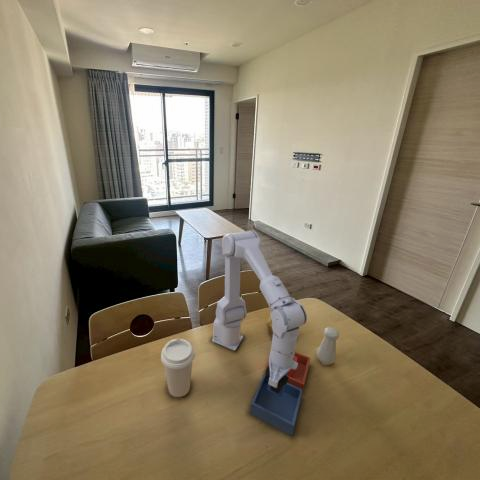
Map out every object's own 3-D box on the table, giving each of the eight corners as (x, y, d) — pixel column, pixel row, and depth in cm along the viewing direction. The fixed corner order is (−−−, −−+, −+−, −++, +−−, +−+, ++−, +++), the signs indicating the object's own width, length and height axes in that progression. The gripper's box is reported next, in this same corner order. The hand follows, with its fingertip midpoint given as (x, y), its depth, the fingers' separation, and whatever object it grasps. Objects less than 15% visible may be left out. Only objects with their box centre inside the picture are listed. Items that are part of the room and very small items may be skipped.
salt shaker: (330, 354, 88) (338, 325, 83) (336, 368, 82) (345, 337, 78) (313, 353, 88) (320, 323, 83) (318, 366, 83) (326, 336, 78)
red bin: (265, 377, 79) (266, 368, 78) (274, 352, 88) (276, 344, 87) (301, 394, 74) (304, 384, 73) (308, 366, 83) (310, 357, 82)
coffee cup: (199, 378, 78) (199, 341, 73) (187, 407, 70) (186, 367, 64) (172, 369, 81) (170, 333, 76) (157, 396, 73) (153, 357, 67)
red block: (279, 372, 80) (281, 361, 78) (283, 363, 83) (285, 352, 82) (292, 378, 78) (294, 366, 76) (295, 368, 82) (297, 357, 80)
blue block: (267, 390, 68) (269, 376, 66) (271, 378, 71) (273, 365, 69) (281, 397, 66) (284, 383, 64) (285, 385, 69) (288, 372, 67)
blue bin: (250, 413, 69) (251, 403, 67) (263, 381, 78) (264, 372, 76) (292, 436, 64) (294, 426, 62) (300, 399, 73) (302, 389, 71)
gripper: (293, 374, 55) (285, 415, 60) (305, 333, 67) (297, 370, 72) (262, 361, 59) (257, 401, 64) (279, 324, 70) (273, 360, 75)
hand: (277, 384), depth 68 cm, fingers closed on blue block, 4 cm apart
